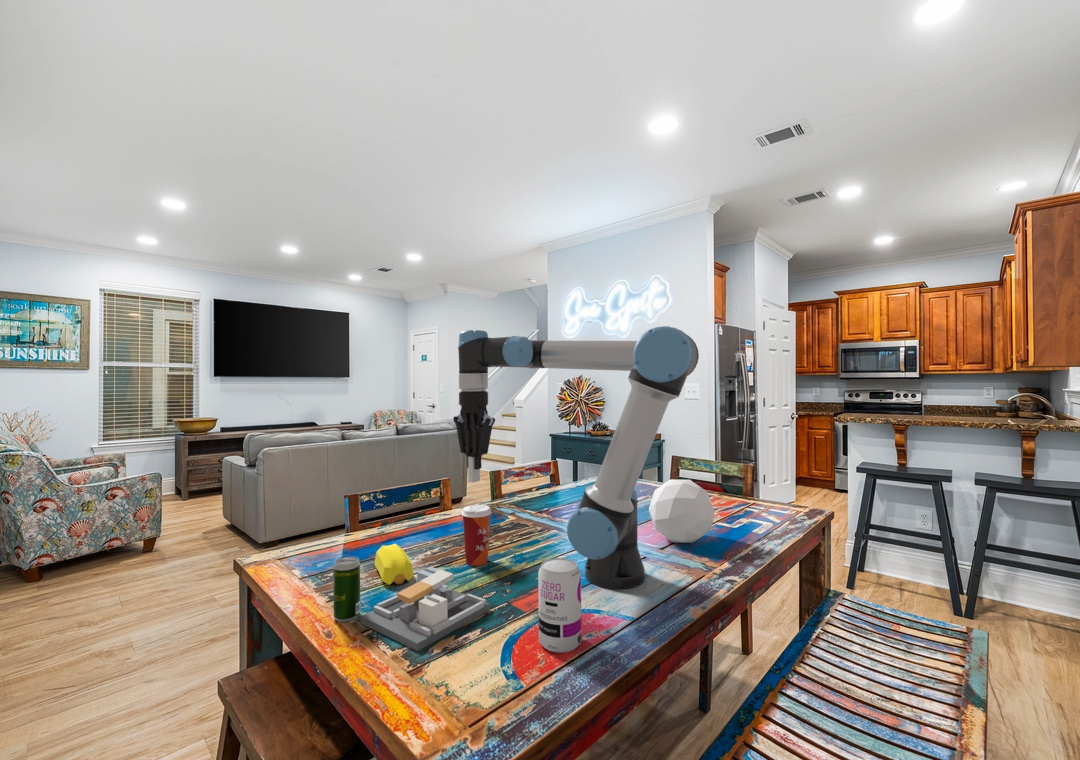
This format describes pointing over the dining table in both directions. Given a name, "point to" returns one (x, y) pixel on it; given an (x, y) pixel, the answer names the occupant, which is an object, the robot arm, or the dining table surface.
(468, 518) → the coffee cup
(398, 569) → the yellow faceted dome
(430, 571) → the slider
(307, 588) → the dining table surface
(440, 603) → the slider
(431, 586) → the rocker
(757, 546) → the dining table surface
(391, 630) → the grey slider track base
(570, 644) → the supplement can
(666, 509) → the geometric orb
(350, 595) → the beer can
